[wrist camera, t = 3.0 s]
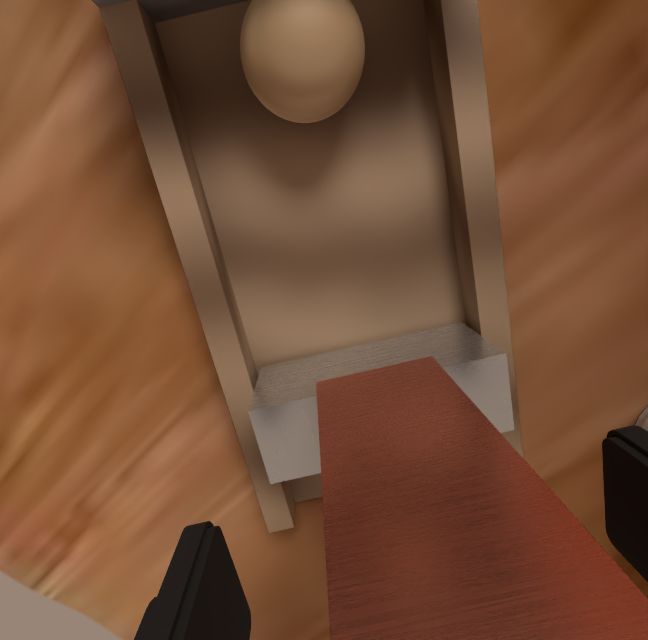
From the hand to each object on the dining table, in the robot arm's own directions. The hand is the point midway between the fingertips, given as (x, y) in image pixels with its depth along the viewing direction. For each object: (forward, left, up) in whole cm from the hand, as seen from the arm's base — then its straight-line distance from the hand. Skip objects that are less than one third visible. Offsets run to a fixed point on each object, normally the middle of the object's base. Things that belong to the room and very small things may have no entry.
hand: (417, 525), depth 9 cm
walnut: (-13, 0, -9) cm, 15 cm away
